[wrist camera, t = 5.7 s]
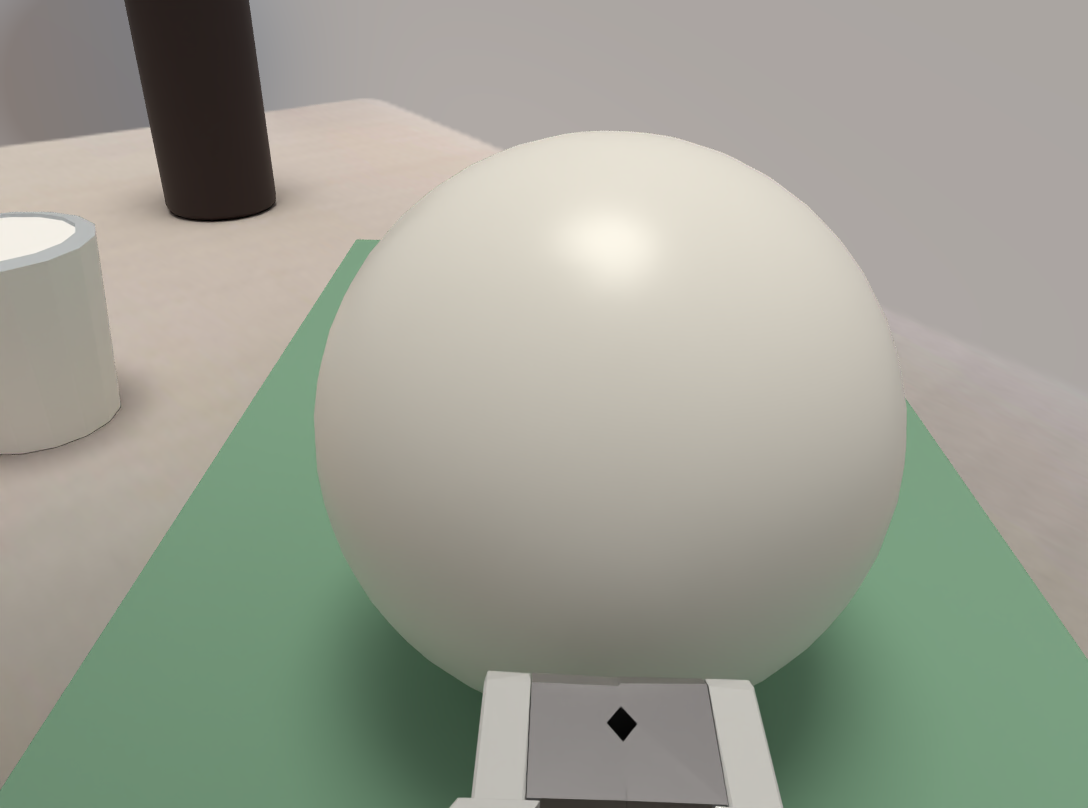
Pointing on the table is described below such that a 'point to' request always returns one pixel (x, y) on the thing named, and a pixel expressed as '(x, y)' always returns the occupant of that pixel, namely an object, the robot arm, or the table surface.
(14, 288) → the white cup
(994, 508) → the table surface
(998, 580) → the green cutout tray
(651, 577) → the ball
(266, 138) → the bottle
